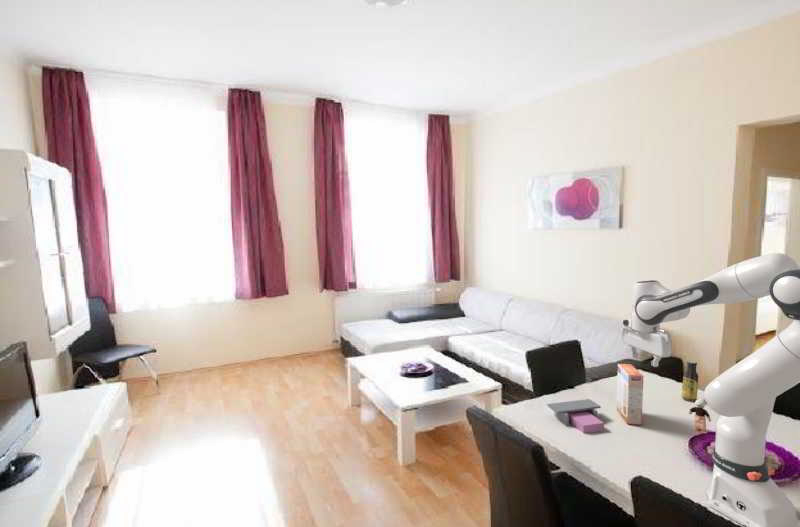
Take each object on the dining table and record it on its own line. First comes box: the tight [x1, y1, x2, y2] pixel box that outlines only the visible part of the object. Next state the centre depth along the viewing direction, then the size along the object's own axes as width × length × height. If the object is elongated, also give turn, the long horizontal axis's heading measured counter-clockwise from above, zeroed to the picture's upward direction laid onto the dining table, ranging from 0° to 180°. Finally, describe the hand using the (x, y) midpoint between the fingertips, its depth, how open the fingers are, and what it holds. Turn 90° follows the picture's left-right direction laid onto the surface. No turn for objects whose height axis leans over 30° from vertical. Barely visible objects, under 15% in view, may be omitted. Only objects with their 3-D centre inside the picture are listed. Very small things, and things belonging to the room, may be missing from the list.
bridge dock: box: [546, 398, 602, 426], centre depth 175 cm, size 10×20×5 cm, turn 101°
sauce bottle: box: [681, 360, 699, 403], centre depth 189 cm, size 6×6×18 cm
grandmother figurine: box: [688, 398, 712, 434], centre depth 162 cm, size 8×4×13 cm, turn 41°
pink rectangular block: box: [566, 410, 605, 434], centre depth 171 cm, size 15×9×4 cm, turn 11°
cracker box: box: [616, 363, 644, 426], centre depth 174 cm, size 14×6×21 cm, turn 168°
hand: (644, 361), depth 152 cm, fingers open, 8 cm apart
